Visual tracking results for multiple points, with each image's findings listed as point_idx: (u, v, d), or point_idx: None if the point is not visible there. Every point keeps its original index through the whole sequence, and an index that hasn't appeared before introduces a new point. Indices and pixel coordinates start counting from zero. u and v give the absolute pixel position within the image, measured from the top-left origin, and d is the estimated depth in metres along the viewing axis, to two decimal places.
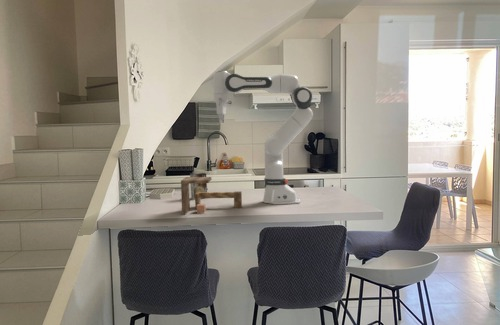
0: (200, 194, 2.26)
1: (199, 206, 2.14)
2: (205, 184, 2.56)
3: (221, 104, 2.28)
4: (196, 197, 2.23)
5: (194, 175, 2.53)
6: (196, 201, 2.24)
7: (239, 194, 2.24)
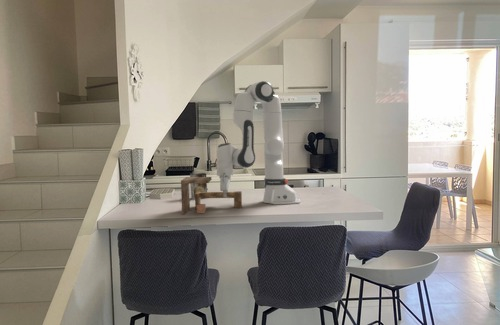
0: (200, 194, 2.26)
1: (199, 206, 2.14)
2: (205, 184, 2.56)
3: (225, 181, 2.17)
4: (196, 197, 2.23)
5: (194, 175, 2.53)
6: (196, 201, 2.24)
7: (239, 194, 2.24)
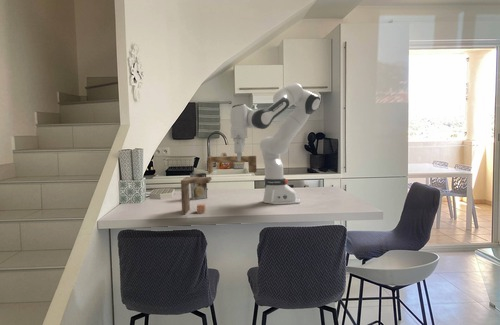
0: (212, 158, 2.14)
1: (199, 206, 2.14)
2: (205, 184, 2.56)
3: (239, 142, 2.04)
4: (208, 161, 2.11)
5: (194, 175, 2.53)
6: (208, 165, 2.11)
7: (254, 158, 2.12)
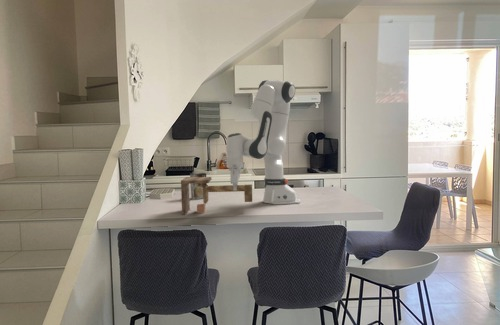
0: (208, 188, 2.13)
1: (199, 206, 2.14)
2: (205, 184, 2.56)
3: (236, 173, 2.04)
4: (204, 191, 2.10)
5: (194, 175, 2.53)
6: (204, 195, 2.11)
7: (250, 187, 2.12)
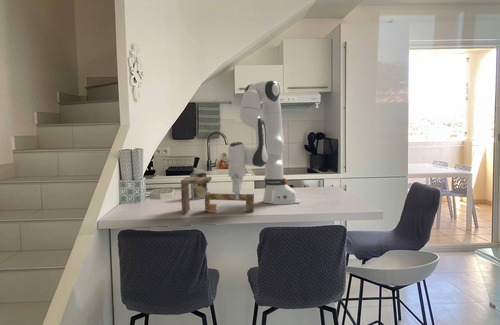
0: (210, 195, 2.14)
1: (210, 205, 2.14)
2: (205, 184, 2.56)
3: (237, 182, 2.05)
4: (206, 198, 2.11)
5: (194, 175, 2.53)
6: (206, 202, 2.11)
7: (252, 197, 2.12)
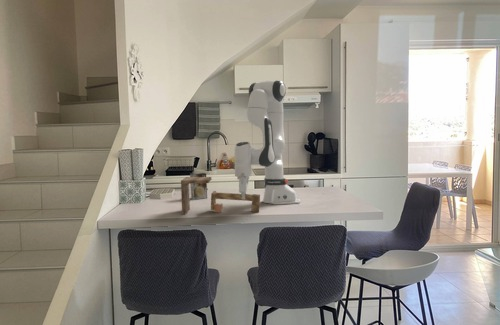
0: (216, 194, 2.14)
1: (216, 205, 2.14)
2: (205, 184, 2.56)
3: (244, 182, 2.05)
4: (212, 197, 2.11)
5: (194, 175, 2.53)
6: (212, 201, 2.11)
7: (258, 197, 2.12)
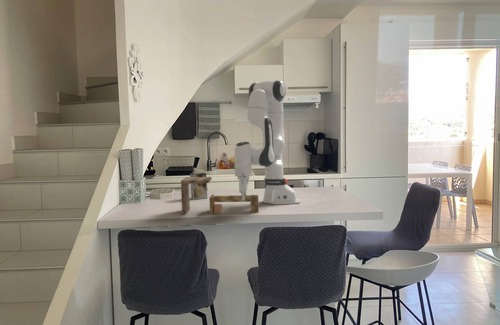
0: (215, 198, 2.14)
1: (216, 206, 2.14)
2: (205, 184, 2.56)
3: (244, 182, 2.05)
4: (211, 201, 2.11)
5: (194, 175, 2.53)
6: (211, 205, 2.11)
7: (256, 198, 2.12)
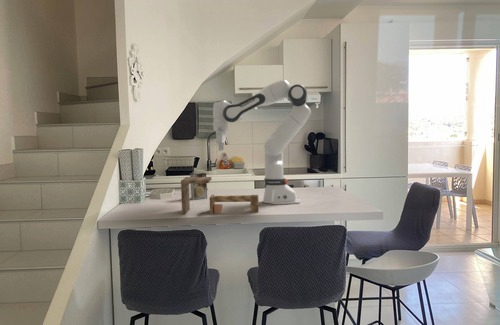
0: (215, 198, 2.14)
1: (216, 206, 2.14)
2: (205, 184, 2.56)
3: (220, 133, 2.36)
4: (211, 201, 2.11)
5: (194, 175, 2.53)
6: (211, 205, 2.11)
7: (256, 198, 2.12)
